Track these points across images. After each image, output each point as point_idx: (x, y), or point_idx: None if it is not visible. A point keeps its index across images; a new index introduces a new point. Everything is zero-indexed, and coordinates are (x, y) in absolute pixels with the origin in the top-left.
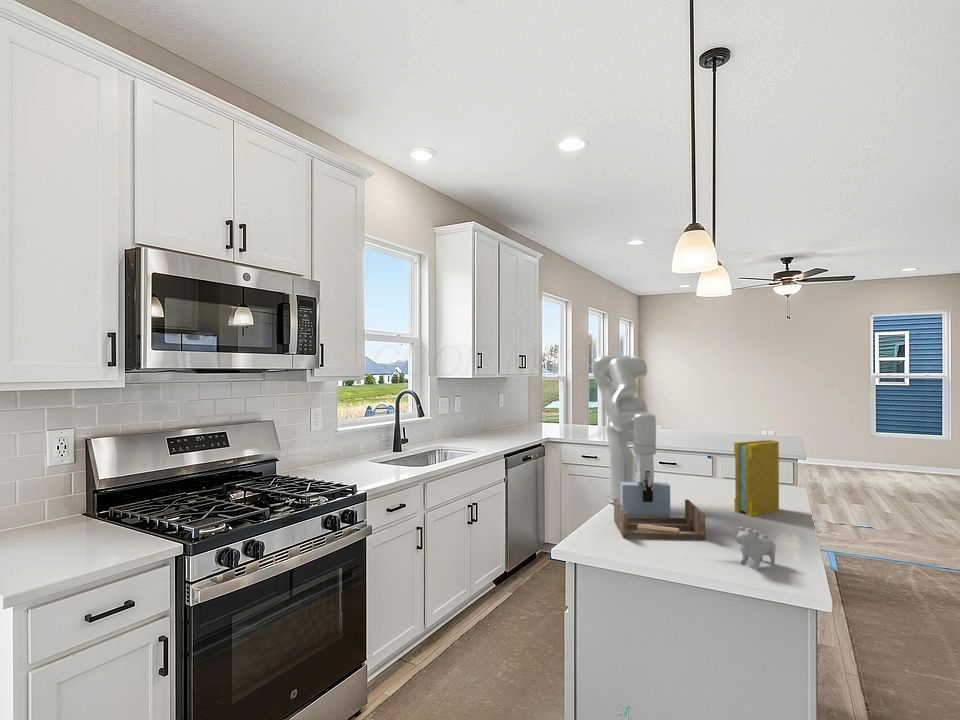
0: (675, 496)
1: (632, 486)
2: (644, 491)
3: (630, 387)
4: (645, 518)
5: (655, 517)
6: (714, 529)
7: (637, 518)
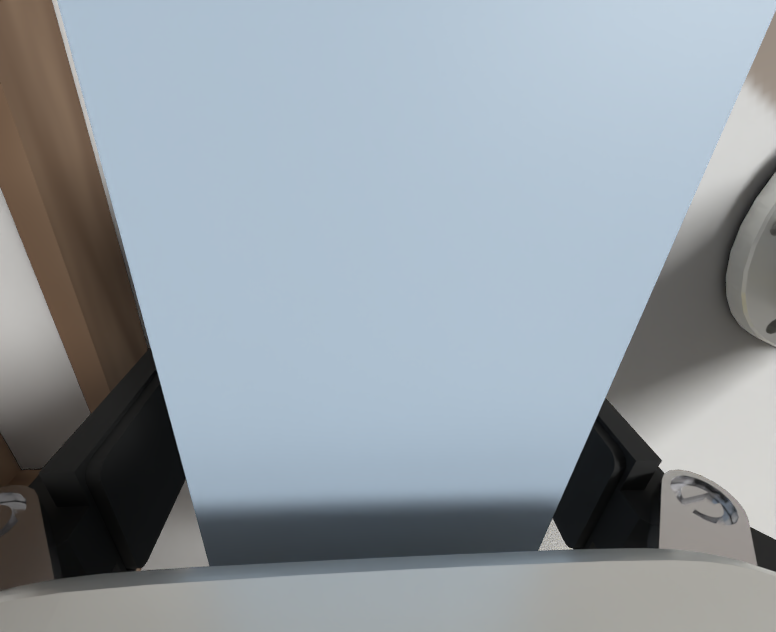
0: (771, 521)
1: (167, 318)
2: (65, 469)
3: None
4: (37, 258)
5: (84, 350)
6: (169, 557)
7: (4, 173)
